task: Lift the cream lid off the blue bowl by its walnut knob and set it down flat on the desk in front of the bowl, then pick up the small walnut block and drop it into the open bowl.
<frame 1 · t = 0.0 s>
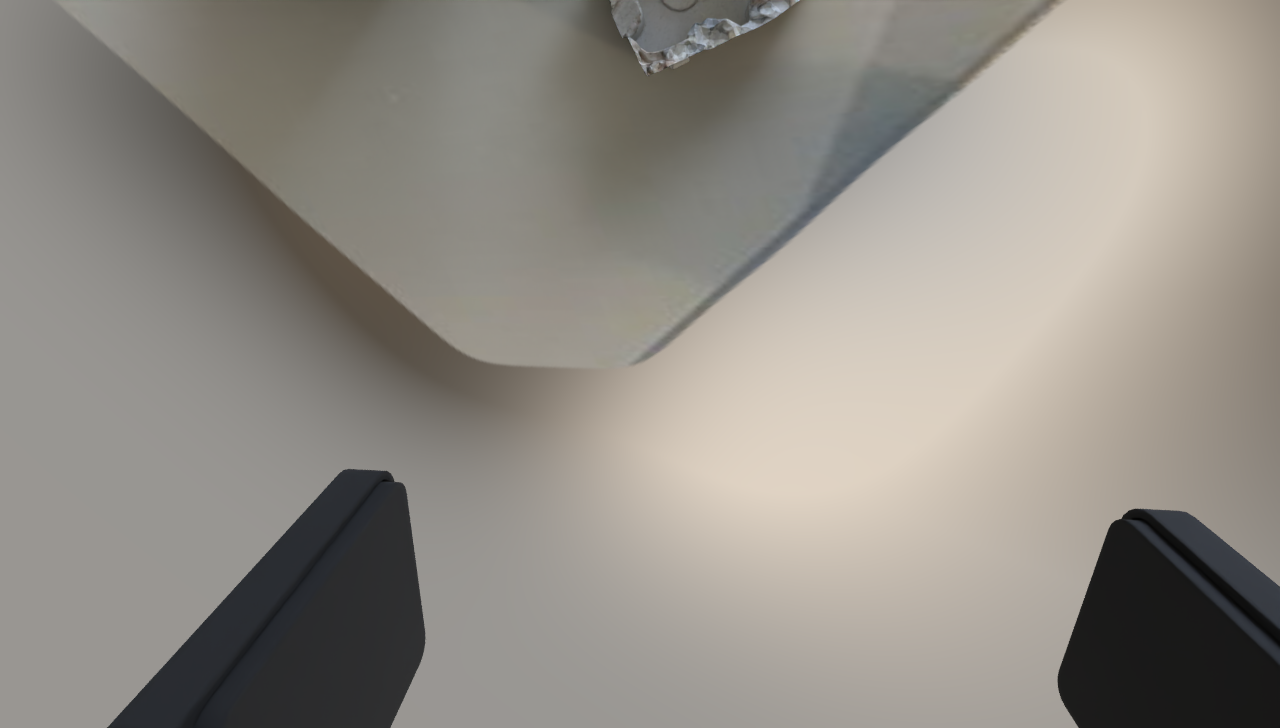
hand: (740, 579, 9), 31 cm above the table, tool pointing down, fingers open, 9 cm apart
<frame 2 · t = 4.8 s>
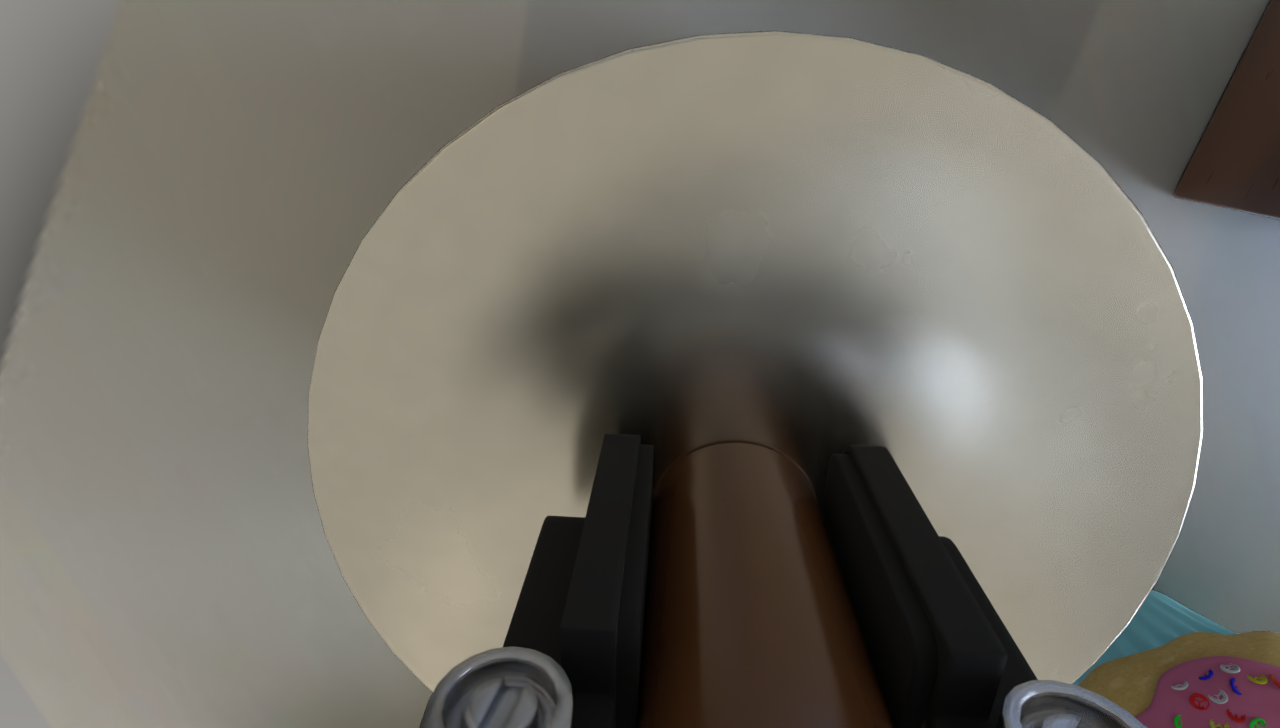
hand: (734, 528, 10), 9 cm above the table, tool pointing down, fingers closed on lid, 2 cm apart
lid: (730, 492, 11), point 8 cm above the table, touching gripper
cupcake: (1107, 639, 22), on the table
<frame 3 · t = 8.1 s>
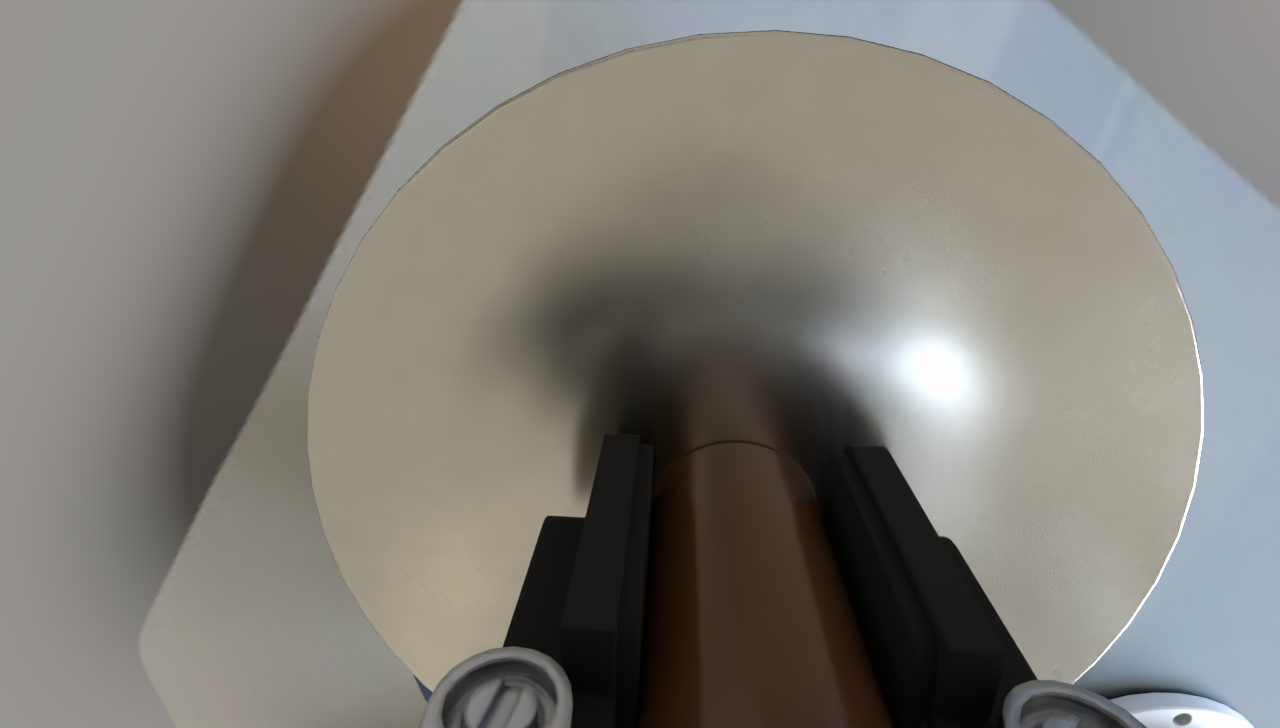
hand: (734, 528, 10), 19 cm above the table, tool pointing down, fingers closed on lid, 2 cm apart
lid: (730, 492, 11), point 18 cm above the table, touching gripper
when the fingers open (2 cm above the table, at t = 11.9 s): lid stays where it is, point 1 cm above the table.
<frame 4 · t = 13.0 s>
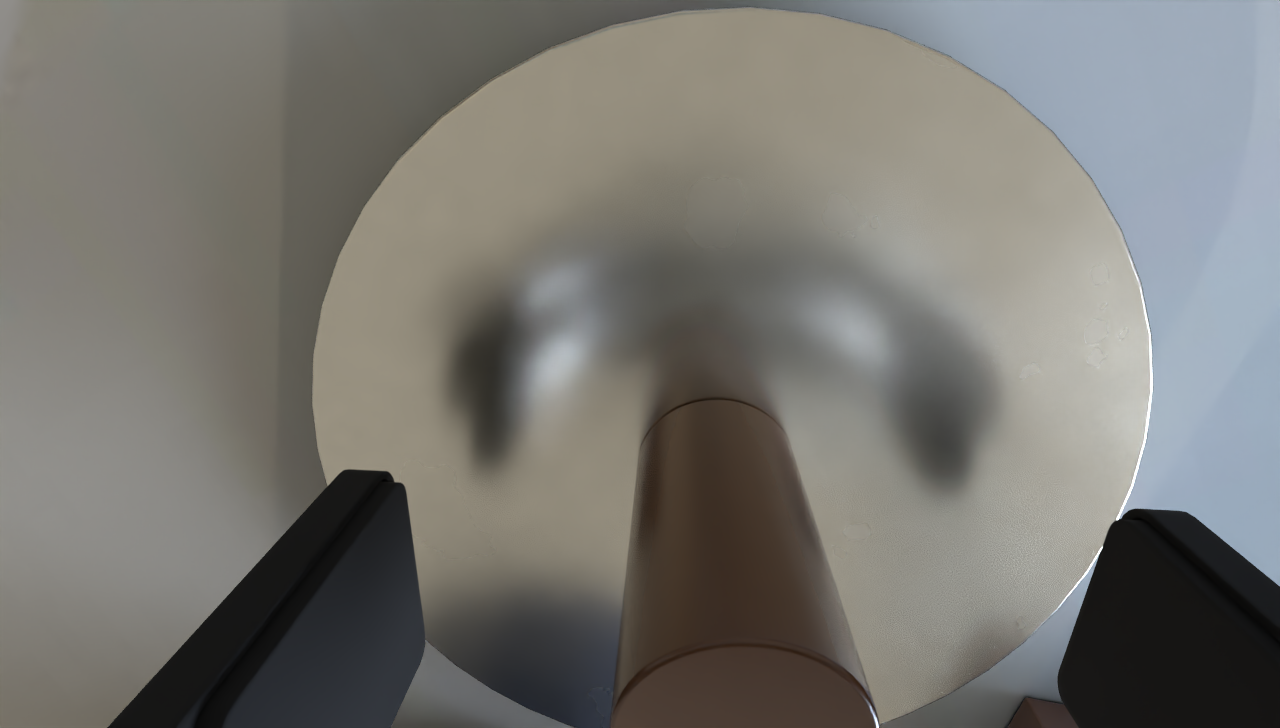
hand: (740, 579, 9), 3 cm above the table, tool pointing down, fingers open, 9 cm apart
lid: (713, 450, 11), point 1 cm above the table
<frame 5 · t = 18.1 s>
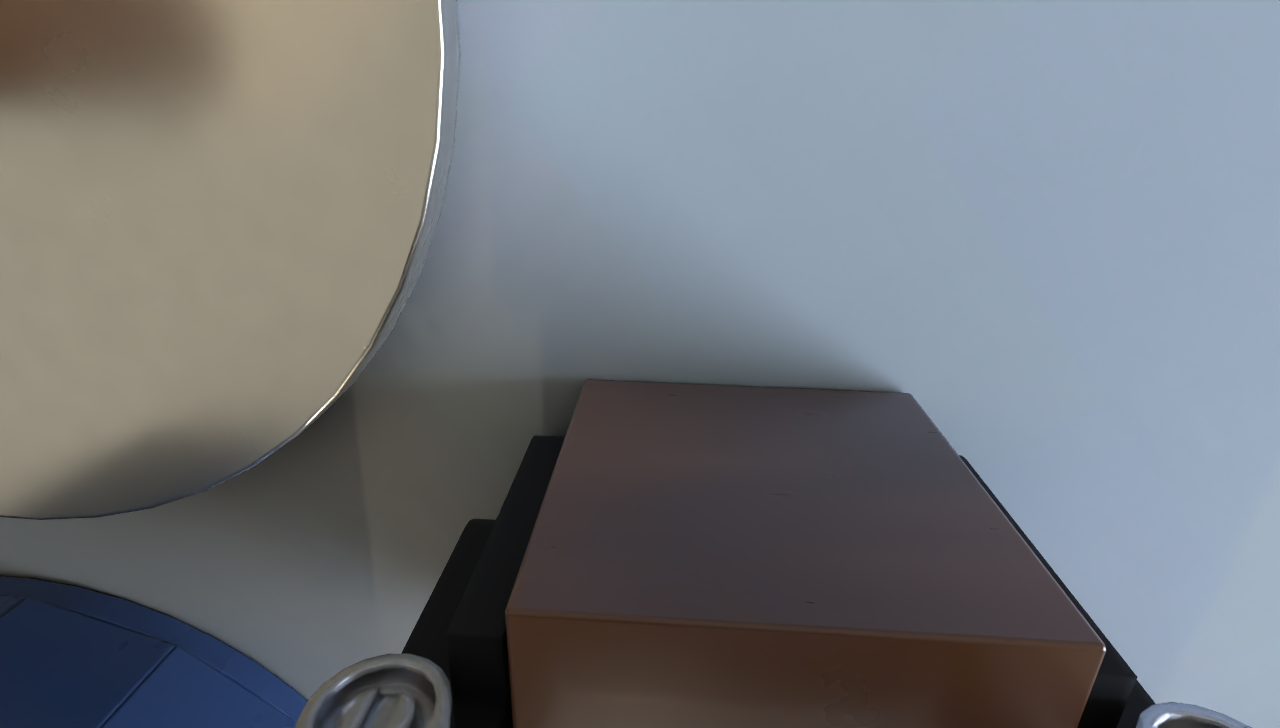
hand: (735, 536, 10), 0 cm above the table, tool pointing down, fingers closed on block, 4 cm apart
block: (733, 520, 10), on the table, touching gripper
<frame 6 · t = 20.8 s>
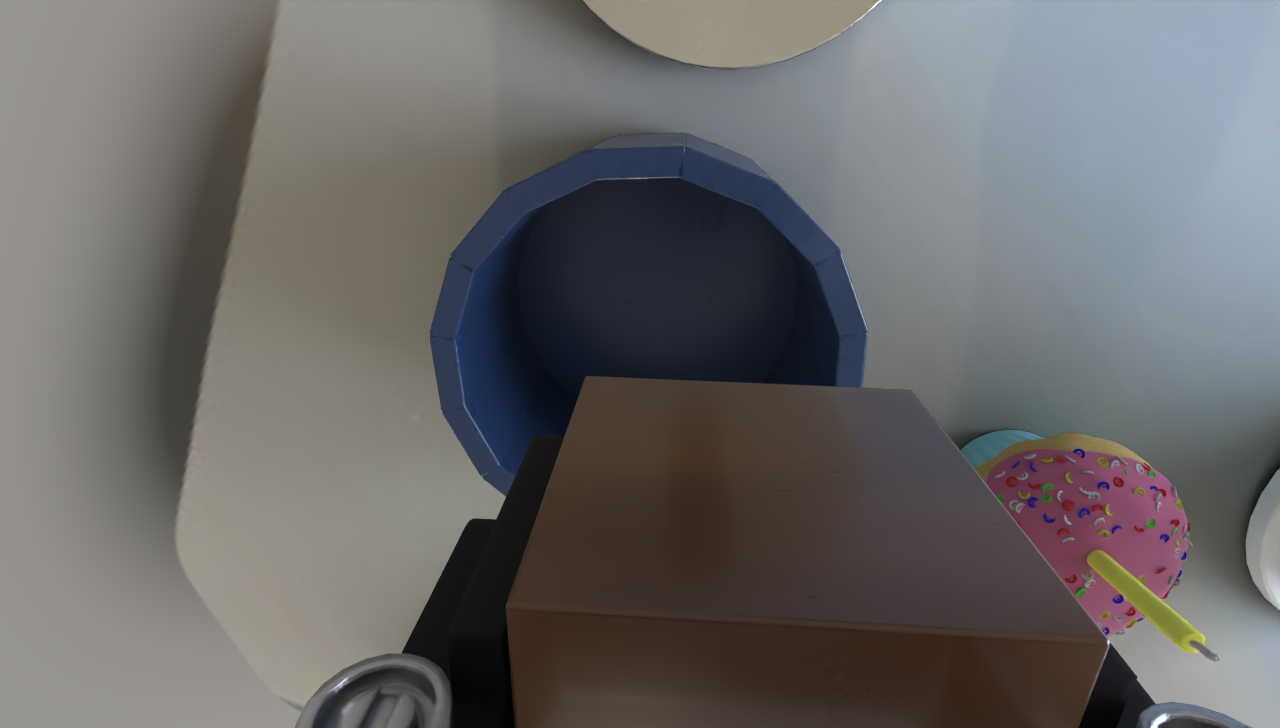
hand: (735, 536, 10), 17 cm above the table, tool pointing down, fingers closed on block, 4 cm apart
block: (734, 517, 10), point 17 cm above the table, touching gripper
blue bowl: (656, 297, 27), on the table
cupcake: (1001, 475, 29), on the table
when the fingers open (6 cm above the table, at t = 23.8 s): block drops 5 cm, resting on blue bowl.
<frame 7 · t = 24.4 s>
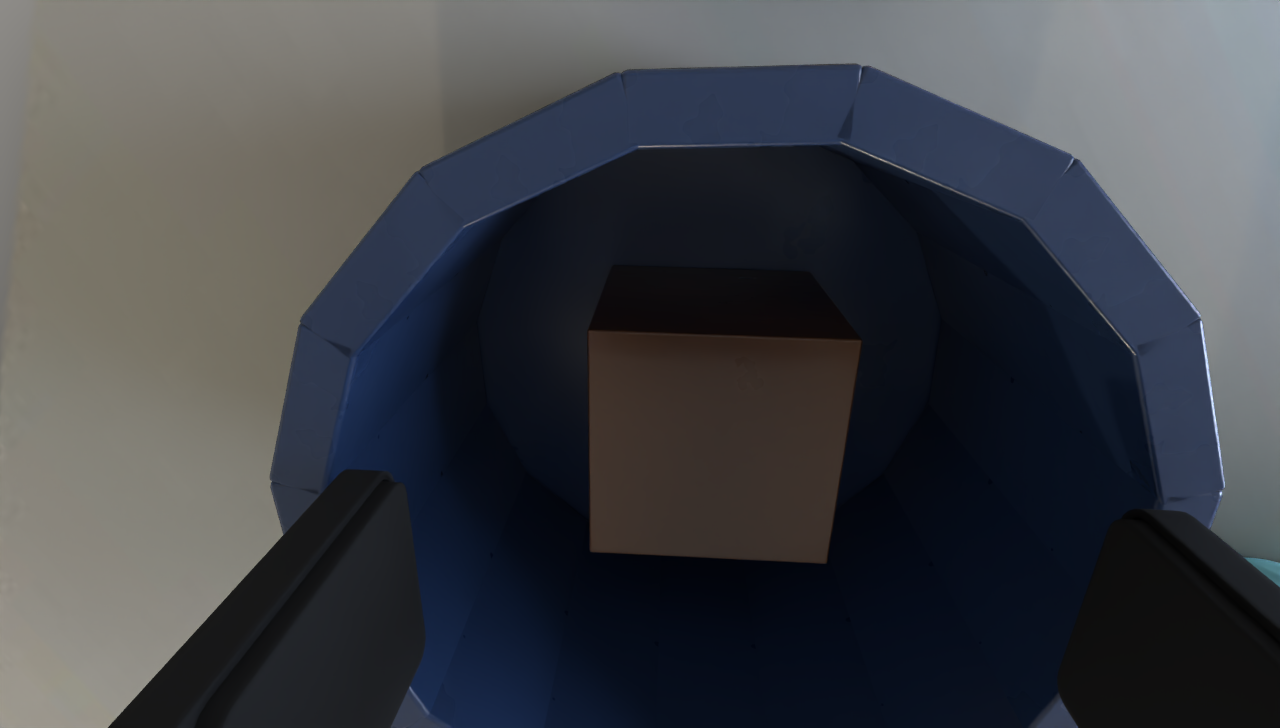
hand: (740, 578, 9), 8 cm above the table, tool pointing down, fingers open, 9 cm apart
block: (704, 360, 16), point 1 cm above the table, touching blue bowl
blue bowl: (703, 354, 16), on the table
cupcake: (1216, 618, 19), on the table
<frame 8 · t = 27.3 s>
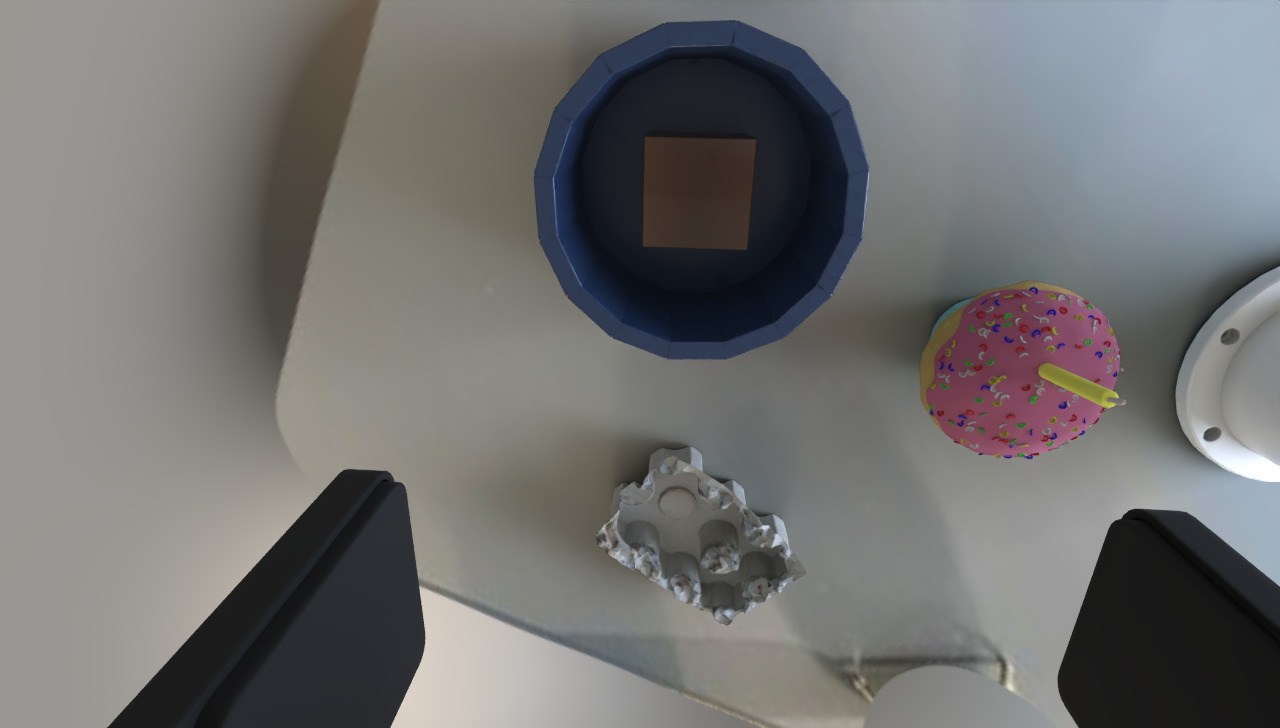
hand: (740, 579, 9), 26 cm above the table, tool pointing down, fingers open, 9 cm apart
block: (695, 182, 32), point 1 cm above the table, touching blue bowl
blue bowl: (694, 181, 32), on the table
egg carton: (700, 514, 40), on the table
cupcake: (975, 339, 35), on the table
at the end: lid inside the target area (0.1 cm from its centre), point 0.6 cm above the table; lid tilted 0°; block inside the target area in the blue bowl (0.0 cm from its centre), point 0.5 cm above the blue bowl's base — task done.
